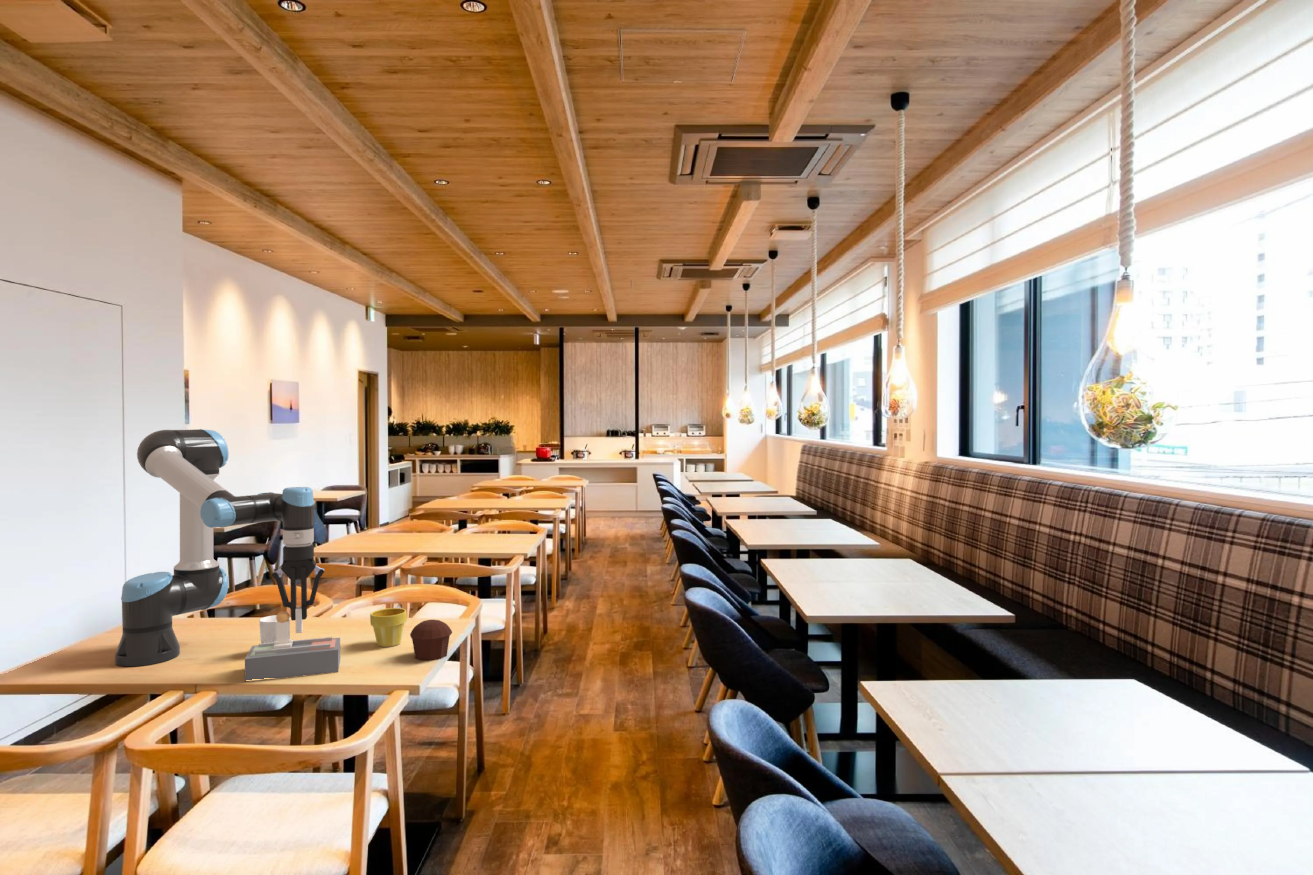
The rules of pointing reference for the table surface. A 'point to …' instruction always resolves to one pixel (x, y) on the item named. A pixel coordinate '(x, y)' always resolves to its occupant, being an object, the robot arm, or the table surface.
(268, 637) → the white cup
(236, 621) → the table surface
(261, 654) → the switch block
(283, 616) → the lever
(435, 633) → the muffin
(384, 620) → the plant pot
